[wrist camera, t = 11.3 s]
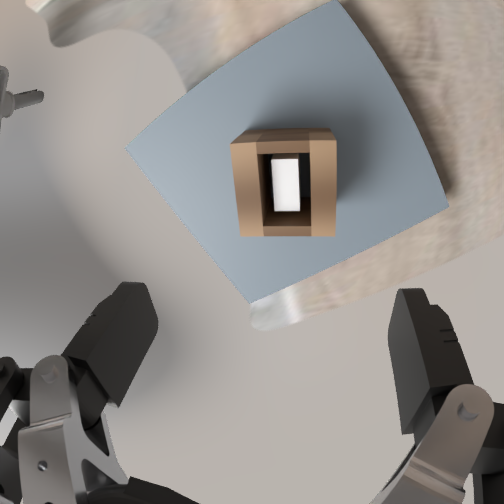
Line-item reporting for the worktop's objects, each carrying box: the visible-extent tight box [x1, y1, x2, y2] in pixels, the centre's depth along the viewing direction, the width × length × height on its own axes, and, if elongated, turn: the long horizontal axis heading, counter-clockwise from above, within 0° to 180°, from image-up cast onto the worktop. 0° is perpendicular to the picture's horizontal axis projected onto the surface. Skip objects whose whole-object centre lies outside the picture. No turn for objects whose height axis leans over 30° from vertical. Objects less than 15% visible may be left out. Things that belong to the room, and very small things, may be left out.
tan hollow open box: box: [230, 128, 337, 237], centre depth 20 cm, size 6×6×5 cm
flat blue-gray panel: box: [125, 0, 449, 304], centre depth 22 cm, size 20×18×6 cm
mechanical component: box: [0, 66, 44, 127], centre depth 19 cm, size 3×10×10 cm, turn 154°
